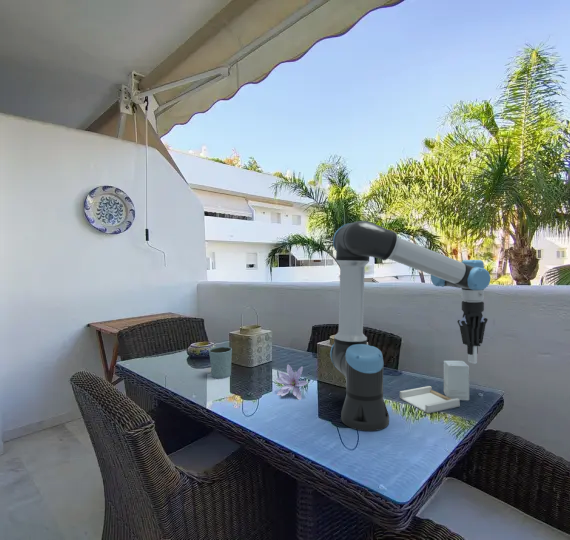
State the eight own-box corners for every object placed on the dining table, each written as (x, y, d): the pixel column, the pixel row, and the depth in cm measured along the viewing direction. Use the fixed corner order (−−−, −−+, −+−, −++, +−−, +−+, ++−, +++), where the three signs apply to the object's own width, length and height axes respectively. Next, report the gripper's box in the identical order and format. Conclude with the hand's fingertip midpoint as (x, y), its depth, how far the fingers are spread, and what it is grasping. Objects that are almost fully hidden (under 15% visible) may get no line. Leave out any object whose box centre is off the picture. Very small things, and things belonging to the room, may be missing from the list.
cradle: (427, 413, 123) (427, 406, 123) (399, 398, 137) (399, 391, 136) (459, 406, 128) (459, 399, 128) (429, 392, 142) (429, 385, 142)
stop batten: (455, 405, 129) (455, 402, 129) (430, 393, 140) (430, 390, 140) (457, 404, 130) (457, 401, 129) (432, 393, 141) (432, 390, 141)
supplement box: (469, 400, 133) (470, 366, 132) (448, 399, 134) (448, 365, 134) (463, 393, 140) (463, 360, 140) (443, 392, 142) (443, 359, 141)
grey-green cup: (234, 372, 170) (234, 346, 169) (229, 379, 160) (228, 352, 159) (213, 372, 171) (212, 346, 170) (206, 379, 161) (205, 352, 160)
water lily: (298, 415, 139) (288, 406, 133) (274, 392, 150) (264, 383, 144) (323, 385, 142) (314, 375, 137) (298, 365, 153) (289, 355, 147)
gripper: (467, 303, 133) (467, 367, 134) (494, 300, 137) (493, 363, 138) (451, 300, 140) (451, 362, 141) (477, 298, 144) (476, 358, 145)
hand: (472, 362), depth 140 cm, fingers closed
